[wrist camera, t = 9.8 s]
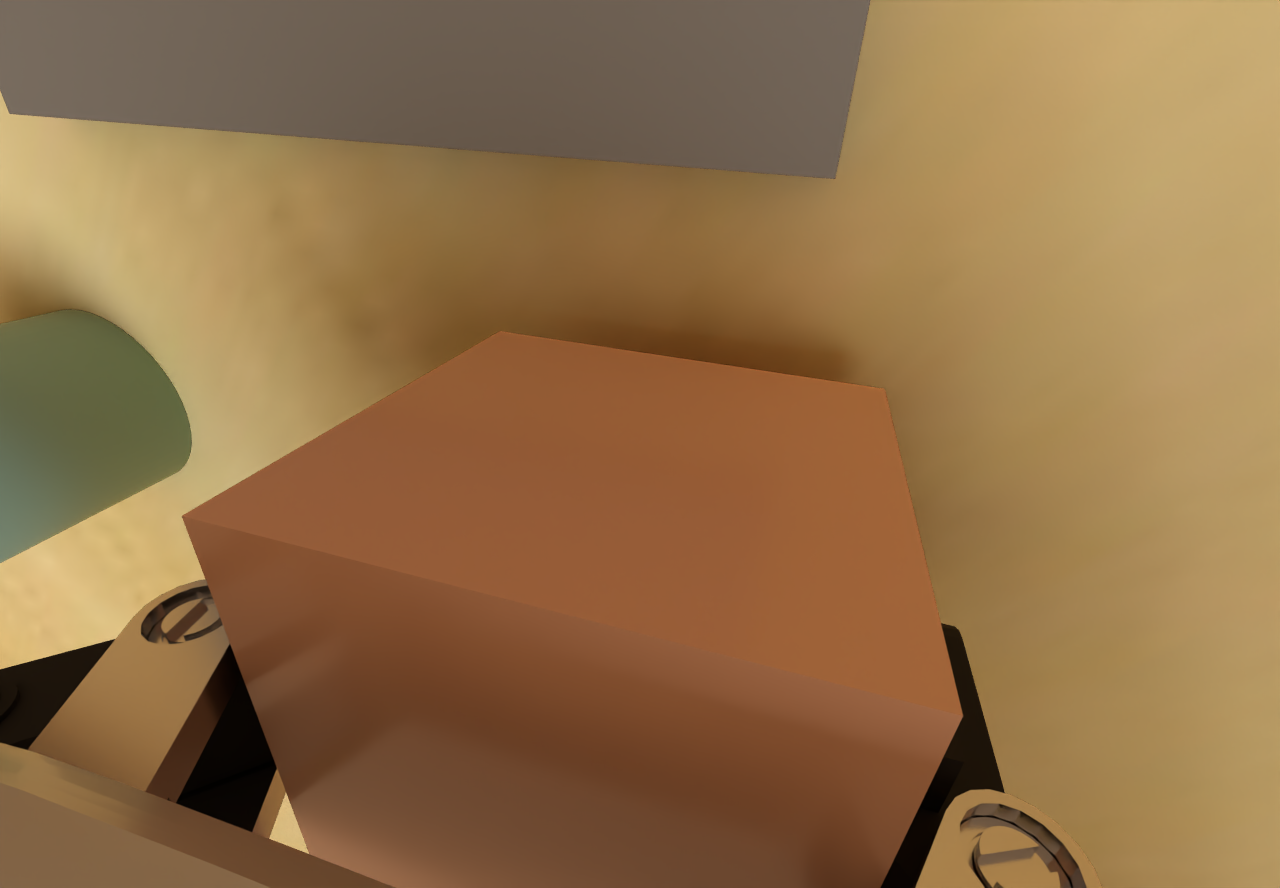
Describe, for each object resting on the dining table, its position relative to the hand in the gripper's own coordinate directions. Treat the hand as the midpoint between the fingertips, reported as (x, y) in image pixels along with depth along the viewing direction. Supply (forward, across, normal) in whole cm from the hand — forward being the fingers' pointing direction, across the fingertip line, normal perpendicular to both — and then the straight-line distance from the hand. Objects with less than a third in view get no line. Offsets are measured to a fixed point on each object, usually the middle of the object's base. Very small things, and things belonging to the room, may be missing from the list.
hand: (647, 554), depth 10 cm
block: (+1, 0, 0) cm, 1 cm away
